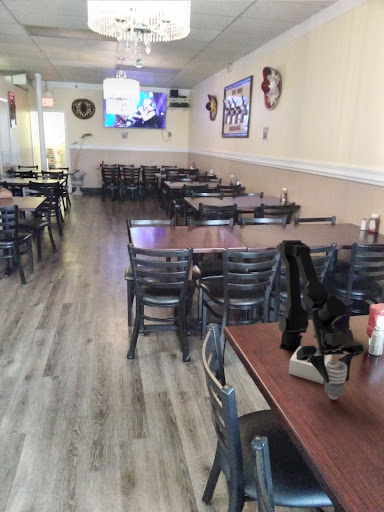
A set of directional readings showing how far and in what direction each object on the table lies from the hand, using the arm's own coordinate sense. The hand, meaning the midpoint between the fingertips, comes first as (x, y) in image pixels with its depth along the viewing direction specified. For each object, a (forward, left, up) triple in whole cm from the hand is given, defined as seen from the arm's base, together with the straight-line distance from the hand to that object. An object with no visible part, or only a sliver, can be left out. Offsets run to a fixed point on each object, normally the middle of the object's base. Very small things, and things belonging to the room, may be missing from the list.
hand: (337, 381), depth 113 cm
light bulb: (-1, +1, -7) cm, 7 cm away
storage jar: (-9, +44, -7) cm, 45 cm away
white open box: (-10, +13, -7) cm, 18 cm away
